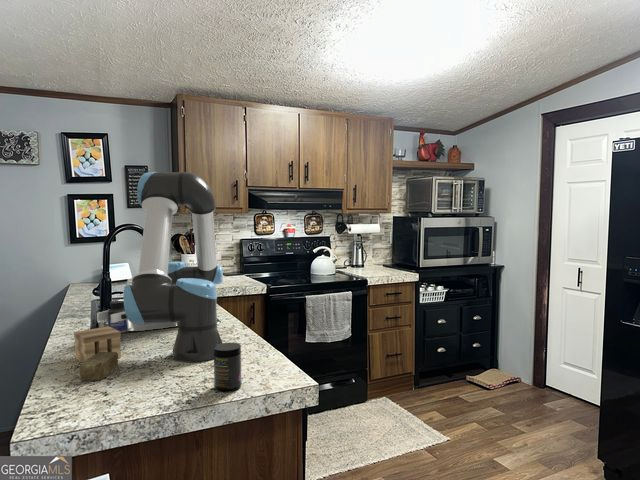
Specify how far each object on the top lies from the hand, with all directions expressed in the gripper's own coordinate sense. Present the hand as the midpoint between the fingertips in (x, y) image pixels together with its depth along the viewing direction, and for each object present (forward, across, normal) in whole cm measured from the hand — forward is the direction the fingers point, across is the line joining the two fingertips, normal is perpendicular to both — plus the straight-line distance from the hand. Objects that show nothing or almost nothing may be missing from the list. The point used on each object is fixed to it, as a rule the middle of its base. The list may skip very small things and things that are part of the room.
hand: (104, 317), depth 145 cm
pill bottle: (-5, 0, -7) cm, 8 cm away
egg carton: (-20, +22, -9) cm, 31 cm away
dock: (+10, -10, -9) cm, 17 cm away
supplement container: (+12, -60, -10) cm, 62 cm away
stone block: (+19, -22, -10) cm, 31 cm away
